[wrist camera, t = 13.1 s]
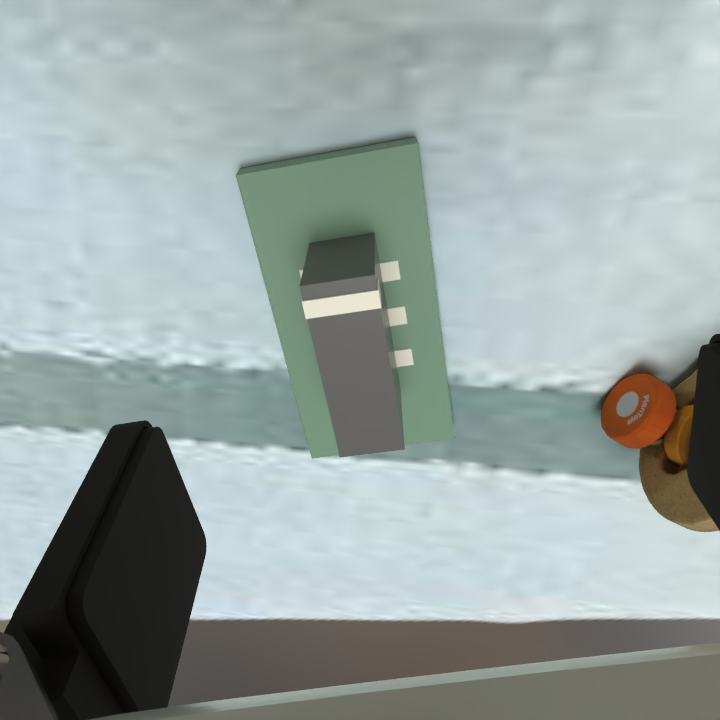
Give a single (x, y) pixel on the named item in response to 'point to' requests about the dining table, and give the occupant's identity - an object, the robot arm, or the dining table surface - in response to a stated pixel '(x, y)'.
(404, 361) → the header board
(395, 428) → the block
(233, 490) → the dining table surface
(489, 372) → the dining table surface
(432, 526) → the dining table surface
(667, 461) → the toy helicopter
